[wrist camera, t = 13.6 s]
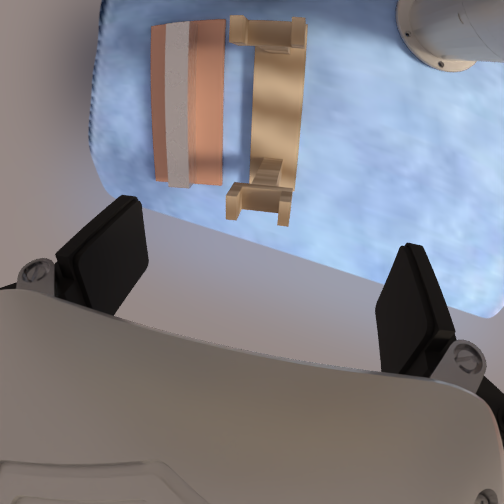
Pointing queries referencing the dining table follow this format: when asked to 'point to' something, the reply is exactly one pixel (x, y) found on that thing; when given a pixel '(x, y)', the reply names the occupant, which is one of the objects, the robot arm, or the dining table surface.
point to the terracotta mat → (206, 100)
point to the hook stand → (271, 114)
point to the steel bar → (181, 102)
